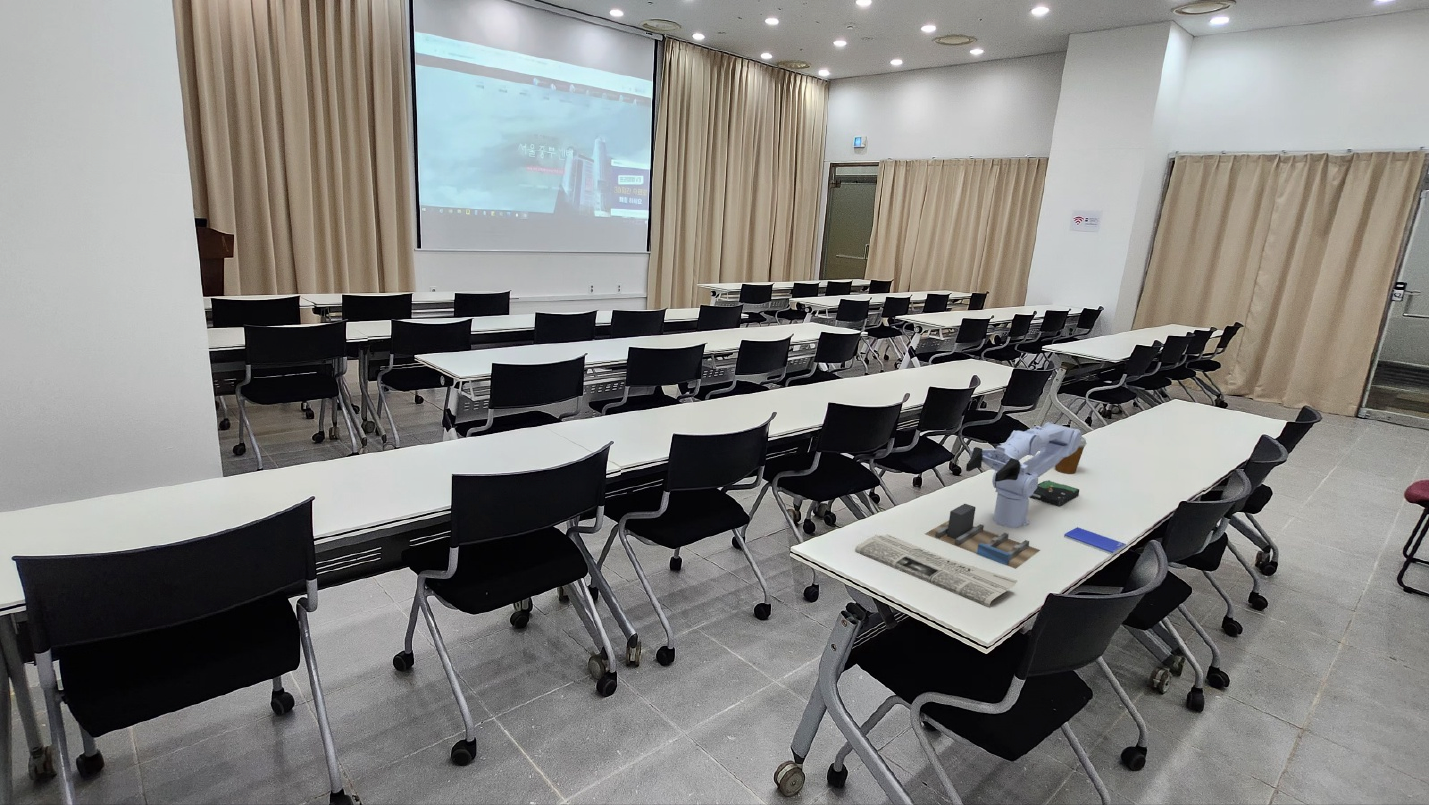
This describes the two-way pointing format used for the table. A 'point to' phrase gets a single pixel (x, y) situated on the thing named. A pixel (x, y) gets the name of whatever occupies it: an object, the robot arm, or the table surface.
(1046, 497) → the disk drive
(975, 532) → the board
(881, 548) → the newspaper
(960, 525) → the dark grey tall block
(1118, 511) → the table surface
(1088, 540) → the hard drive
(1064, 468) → the disposable coffee cup
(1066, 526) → the table surface
